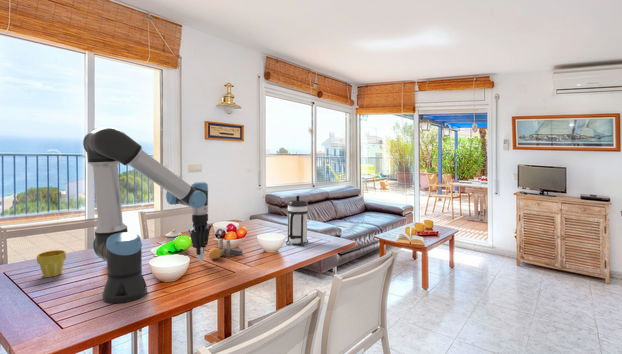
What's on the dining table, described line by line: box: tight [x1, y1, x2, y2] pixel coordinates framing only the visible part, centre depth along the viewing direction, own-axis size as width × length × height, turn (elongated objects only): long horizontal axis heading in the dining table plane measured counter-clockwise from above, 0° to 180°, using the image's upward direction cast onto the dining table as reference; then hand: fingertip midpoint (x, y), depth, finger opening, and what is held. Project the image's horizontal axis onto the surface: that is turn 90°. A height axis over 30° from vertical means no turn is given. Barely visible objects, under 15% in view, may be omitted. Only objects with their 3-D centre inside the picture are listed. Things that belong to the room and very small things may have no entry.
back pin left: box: [217, 238, 224, 251], centre depth 186 cm, size 2×2×8 cm
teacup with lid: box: [164, 229, 183, 244], centre depth 193 cm, size 12×9×12 cm
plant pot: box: [36, 249, 67, 278], centre depth 152 cm, size 10×10×10 cm
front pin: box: [219, 243, 232, 258], centre depth 185 cm, size 2×2×8 cm
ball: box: [208, 247, 221, 260], centre depth 178 cm, size 6×6×6 cm
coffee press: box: [285, 195, 309, 247], centre depth 208 cm, size 17×16×30 cm
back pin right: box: [224, 239, 231, 258], centre depth 183 cm, size 2×2×8 cm
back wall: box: [223, 246, 243, 256], centre depth 189 cm, size 2×16×2 cm, turn 63°
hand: (200, 260), depth 169 cm, fingers closed
